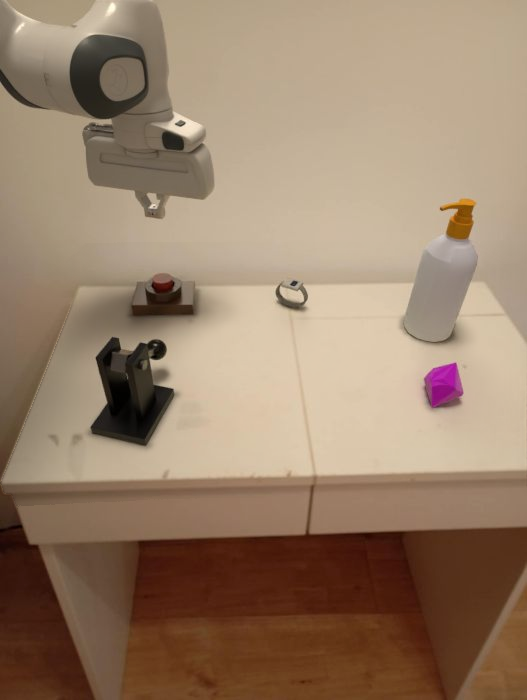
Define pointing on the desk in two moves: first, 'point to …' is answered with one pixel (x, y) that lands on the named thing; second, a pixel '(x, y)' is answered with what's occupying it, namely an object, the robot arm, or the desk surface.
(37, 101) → the robot arm
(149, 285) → the panel
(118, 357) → the ball knob lever
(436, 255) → the soap bottle
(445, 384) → the crystal
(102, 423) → the black lever stand
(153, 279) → the button
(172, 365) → the desk surface
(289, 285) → the wristwatch
